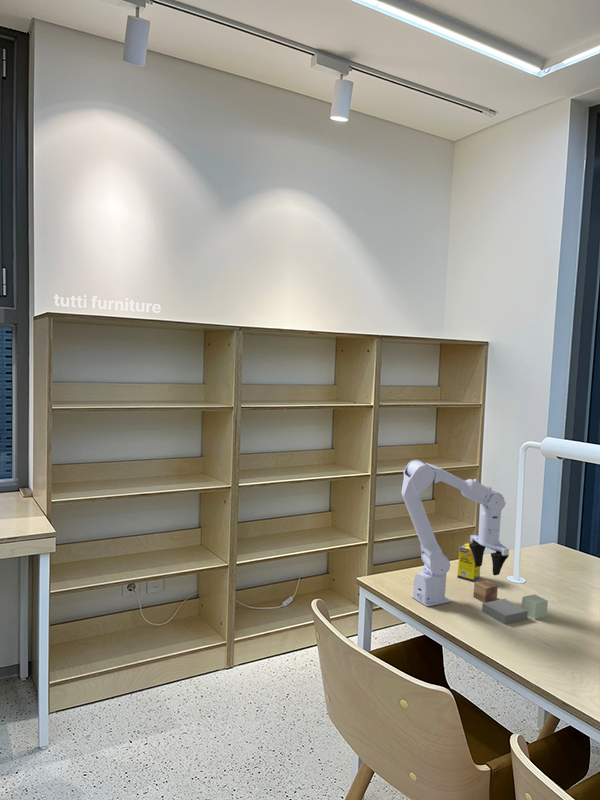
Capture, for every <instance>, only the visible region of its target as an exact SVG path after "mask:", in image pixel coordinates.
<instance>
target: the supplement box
mask: <svg viewBox="0 0 600 800" xmlns="http://www.w3.org/2000/svg"><path fill="white" fill-rule="evenodd" d="M469 544H470V543H468V542H467V543H464V544H463V545H461V546H459V548H458V549H459V551H458V552H459V553H458V566H457V567H458V568H457V578H458V579H463V580H465V581H469V582H473V583H474V582H476V580H477V579H479V578H480V576H481V575H480V574H481V566H479V567H476V566H475V562H474V557H473V553H472V551H471V548H470V547H469Z"/></svg>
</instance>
